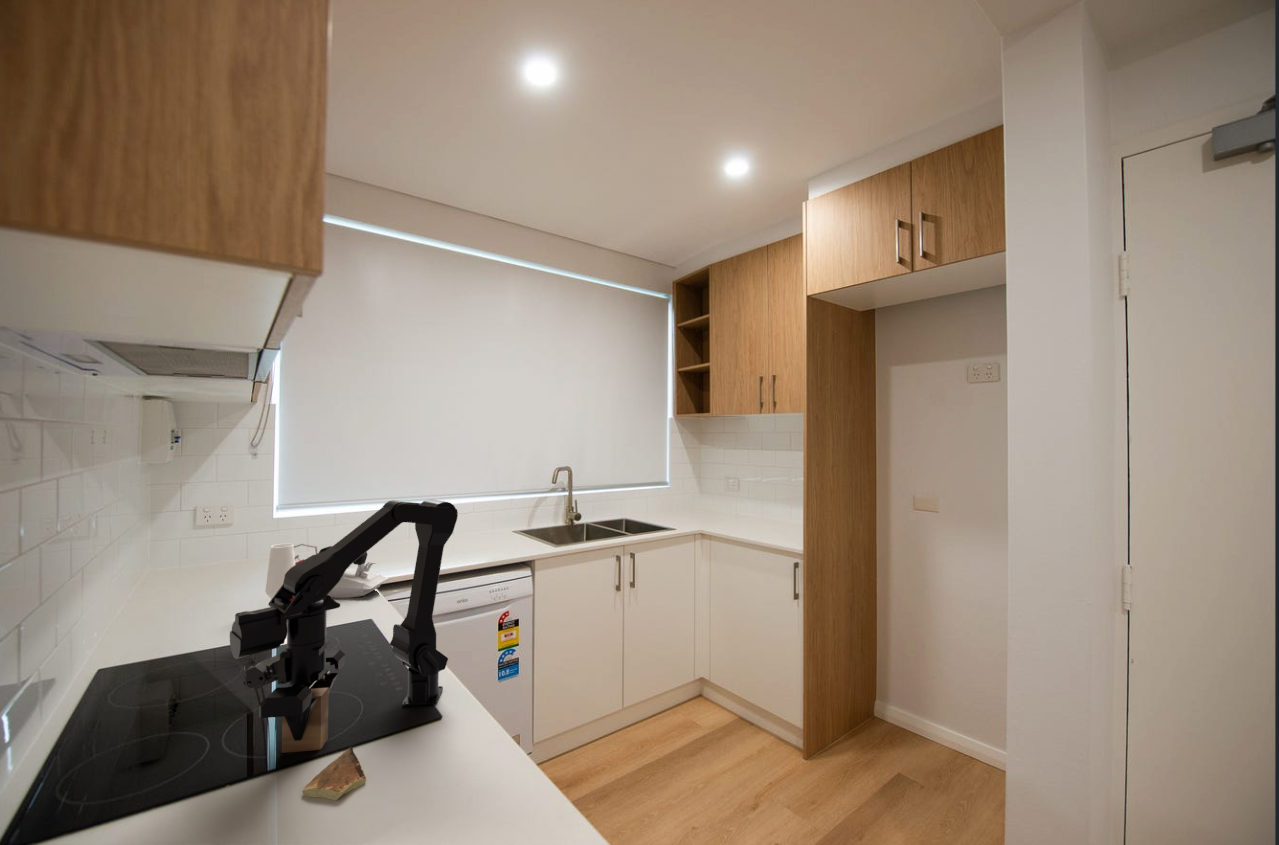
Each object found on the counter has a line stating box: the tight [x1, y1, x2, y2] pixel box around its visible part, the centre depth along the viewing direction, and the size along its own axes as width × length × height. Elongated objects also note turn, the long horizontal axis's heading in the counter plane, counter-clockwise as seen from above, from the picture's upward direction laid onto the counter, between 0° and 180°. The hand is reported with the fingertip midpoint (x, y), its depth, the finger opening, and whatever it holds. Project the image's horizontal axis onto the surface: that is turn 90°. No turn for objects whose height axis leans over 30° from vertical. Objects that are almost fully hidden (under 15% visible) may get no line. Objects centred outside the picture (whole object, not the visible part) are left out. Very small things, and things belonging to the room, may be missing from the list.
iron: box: [318, 545, 390, 599], centre depth 175 cm, size 11×24×15 cm, turn 88°
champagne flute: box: [265, 543, 296, 646], centre depth 136 cm, size 7×7×24 cm
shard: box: [302, 746, 367, 801], centre depth 84 cm, size 11×8×2 cm
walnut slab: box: [281, 688, 330, 754], centre depth 92 cm, size 3×6×9 cm, turn 99°
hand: (305, 730), depth 92 cm, fingers open, 5 cm apart
